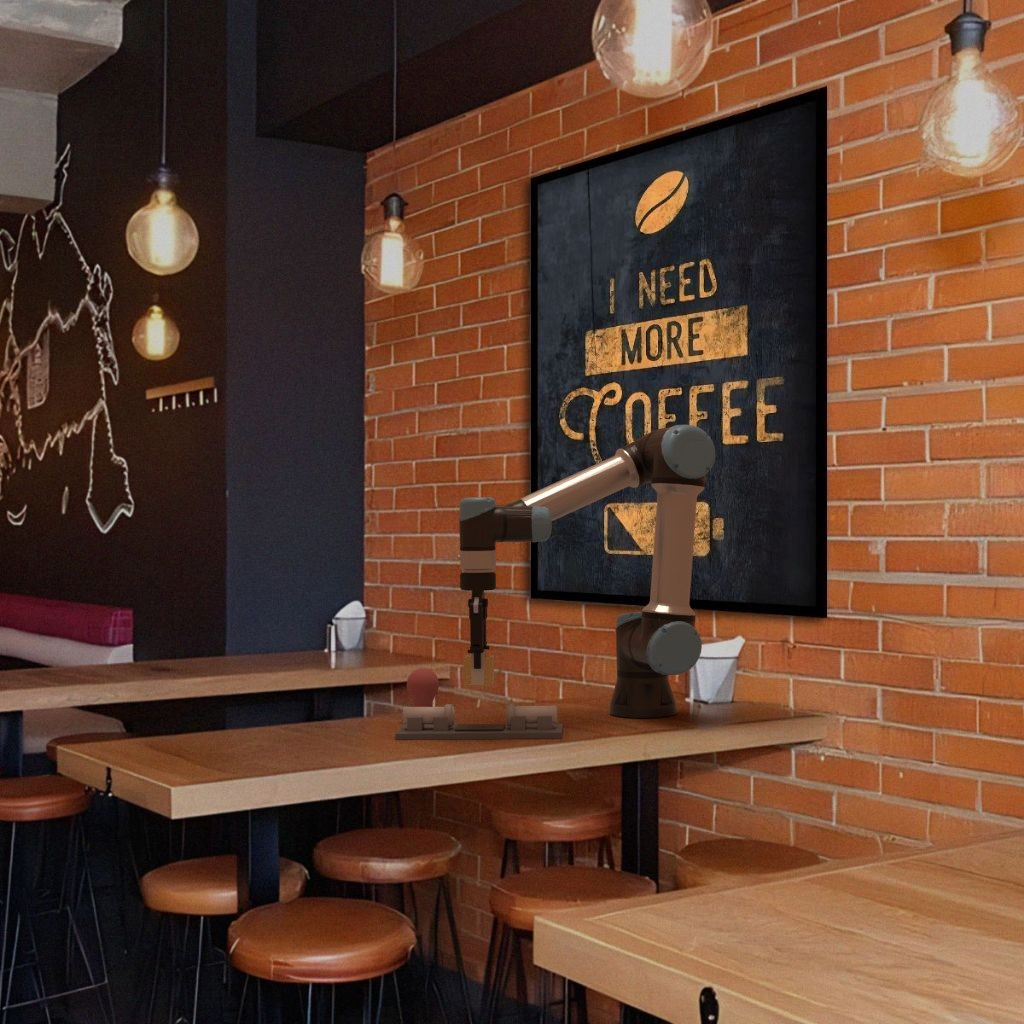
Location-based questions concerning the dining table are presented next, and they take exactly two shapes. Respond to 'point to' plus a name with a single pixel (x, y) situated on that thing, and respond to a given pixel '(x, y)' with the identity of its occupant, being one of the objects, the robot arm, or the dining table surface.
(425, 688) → the light bulb
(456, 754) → the dining table surface
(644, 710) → the robot arm
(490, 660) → the block
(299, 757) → the dining table surface
